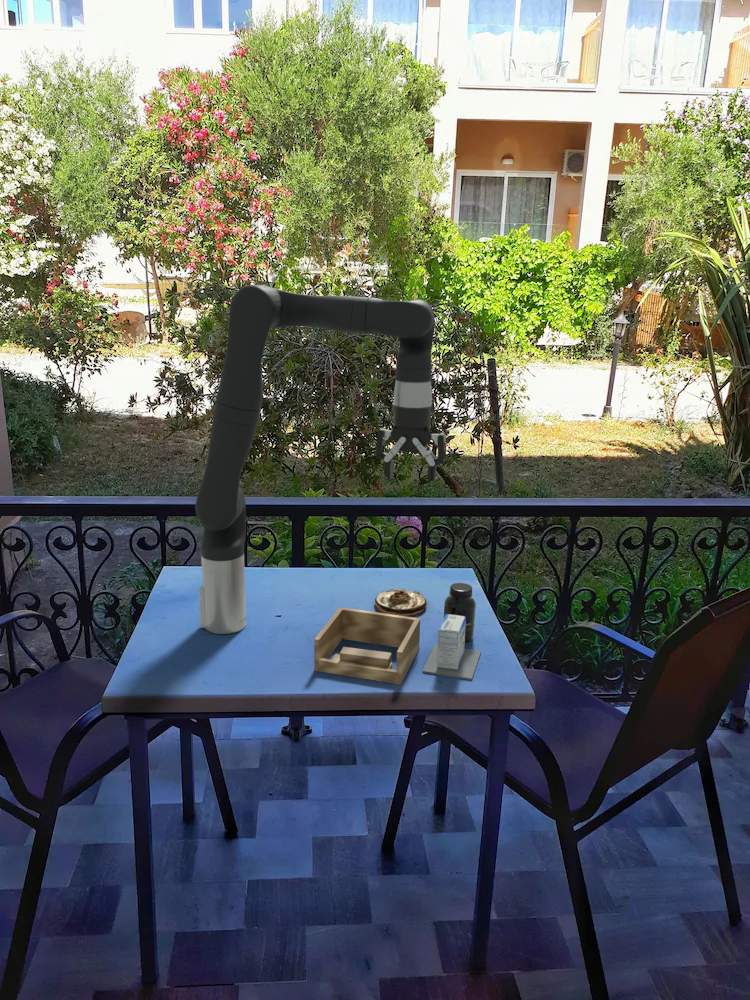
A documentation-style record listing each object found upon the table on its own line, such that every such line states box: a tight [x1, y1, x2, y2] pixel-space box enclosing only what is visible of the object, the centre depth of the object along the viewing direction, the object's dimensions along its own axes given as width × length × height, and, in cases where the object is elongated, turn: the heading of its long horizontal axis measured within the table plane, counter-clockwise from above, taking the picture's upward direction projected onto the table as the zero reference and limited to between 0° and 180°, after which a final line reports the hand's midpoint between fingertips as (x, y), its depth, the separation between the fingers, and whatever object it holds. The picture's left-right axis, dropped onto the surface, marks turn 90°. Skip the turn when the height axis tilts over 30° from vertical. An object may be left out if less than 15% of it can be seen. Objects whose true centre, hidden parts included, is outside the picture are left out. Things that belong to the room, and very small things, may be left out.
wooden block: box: [331, 646, 393, 669], centre depth 162 cm, size 12×3×4 cm, turn 74°
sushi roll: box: [374, 588, 428, 617], centre depth 192 cm, size 15×15×4 cm
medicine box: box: [437, 614, 466, 670], centre depth 165 cm, size 8×4×9 cm, turn 164°
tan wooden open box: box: [313, 606, 421, 685], centre depth 166 cm, size 18×16×7 cm
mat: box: [422, 644, 482, 681], centre depth 166 cm, size 10×12×1 cm
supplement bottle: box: [442, 582, 477, 644], centre depth 176 cm, size 7×7×12 cm
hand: (409, 480), depth 165 cm, fingers open, 8 cm apart
